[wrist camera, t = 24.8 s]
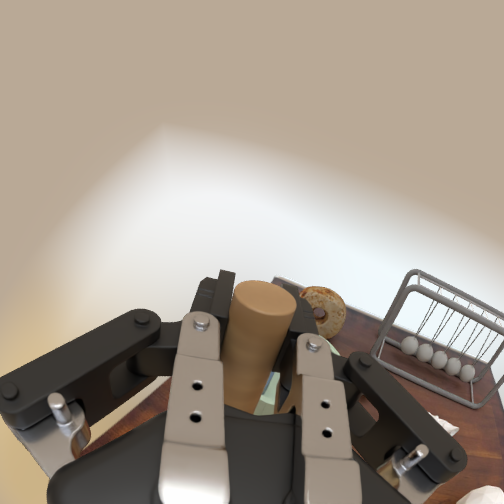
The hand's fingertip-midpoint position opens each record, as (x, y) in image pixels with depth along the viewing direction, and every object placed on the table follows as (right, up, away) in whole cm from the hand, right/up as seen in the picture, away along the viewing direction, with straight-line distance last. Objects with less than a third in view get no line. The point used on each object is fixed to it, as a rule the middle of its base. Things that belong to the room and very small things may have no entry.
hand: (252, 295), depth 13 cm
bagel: (+11, -14, +41) cm, 45 cm away
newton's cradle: (+37, -24, +35) cm, 55 cm away
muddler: (-3, -14, +2) cm, 14 cm away
